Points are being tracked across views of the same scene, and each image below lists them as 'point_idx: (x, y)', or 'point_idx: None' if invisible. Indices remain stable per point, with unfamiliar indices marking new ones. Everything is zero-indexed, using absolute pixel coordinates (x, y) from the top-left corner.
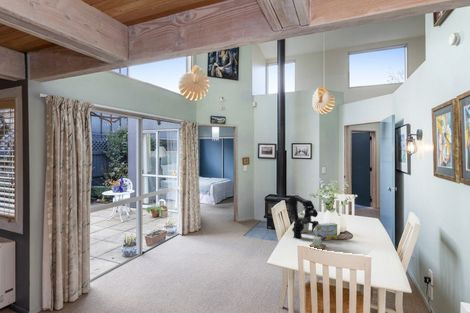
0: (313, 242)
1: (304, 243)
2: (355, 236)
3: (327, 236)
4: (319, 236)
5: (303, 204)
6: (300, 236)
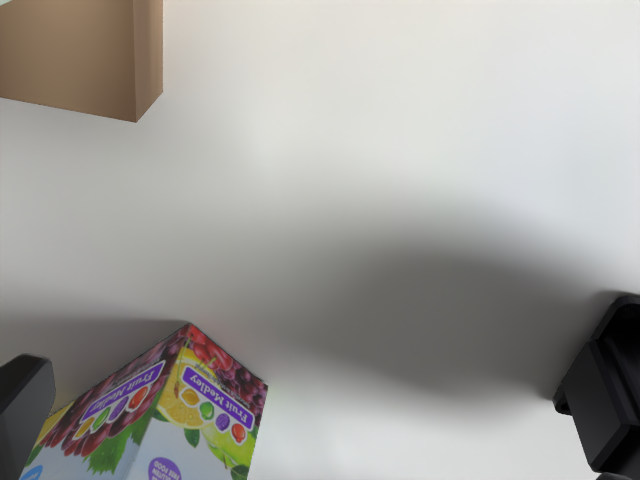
0: (129, 52)
1: (435, 43)
2: None
3: None
4: (115, 419)
5: None
6: (594, 369)
